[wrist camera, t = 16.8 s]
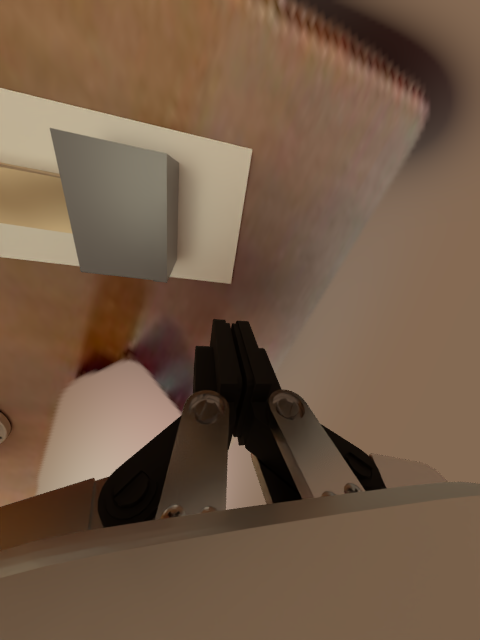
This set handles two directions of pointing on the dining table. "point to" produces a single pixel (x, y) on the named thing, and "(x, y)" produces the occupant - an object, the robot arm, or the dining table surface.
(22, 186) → the slat
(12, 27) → the dining table surface
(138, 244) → the cap
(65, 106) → the base
